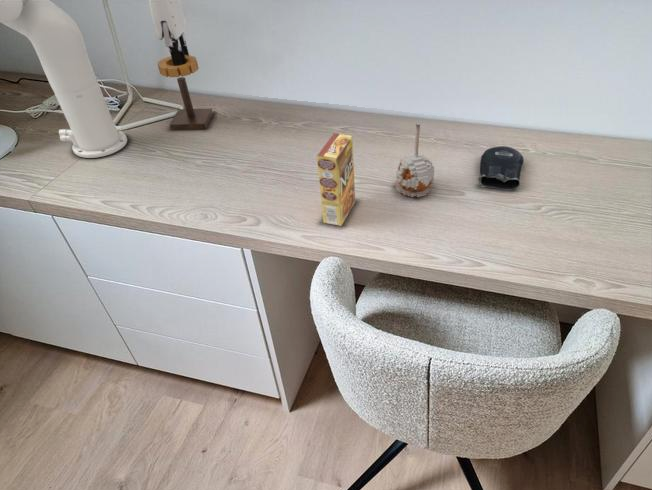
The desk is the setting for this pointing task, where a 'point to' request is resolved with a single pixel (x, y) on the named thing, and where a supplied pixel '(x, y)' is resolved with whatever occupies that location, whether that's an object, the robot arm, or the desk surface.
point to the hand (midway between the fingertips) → (182, 64)
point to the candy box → (336, 178)
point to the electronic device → (500, 168)
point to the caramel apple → (415, 172)
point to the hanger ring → (177, 67)
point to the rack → (189, 112)
